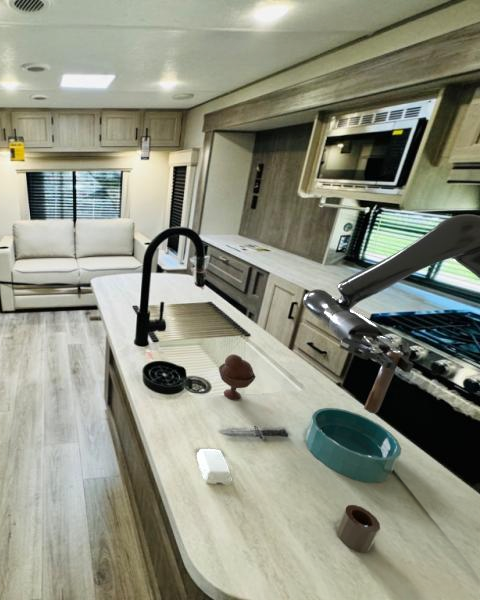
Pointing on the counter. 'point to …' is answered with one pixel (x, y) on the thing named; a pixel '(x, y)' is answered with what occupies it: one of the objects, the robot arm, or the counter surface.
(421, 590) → the counter surface
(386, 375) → the brown rounded rod
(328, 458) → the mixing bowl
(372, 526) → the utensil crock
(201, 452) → the soap
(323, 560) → the counter surface
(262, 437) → the knife
